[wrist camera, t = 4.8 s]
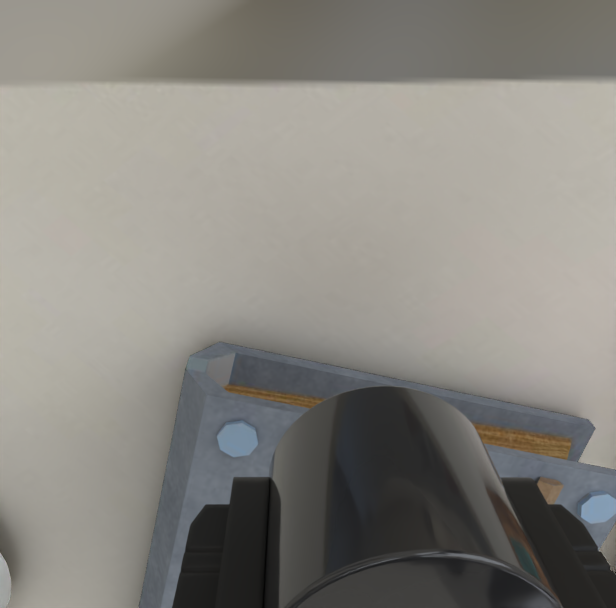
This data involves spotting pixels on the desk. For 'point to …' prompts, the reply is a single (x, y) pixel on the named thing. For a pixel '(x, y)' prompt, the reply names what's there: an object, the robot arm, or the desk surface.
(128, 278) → the desk surface
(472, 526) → the dark grey cylinder
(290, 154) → the desk surface
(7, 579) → the cup
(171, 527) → the book
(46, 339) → the desk surface
